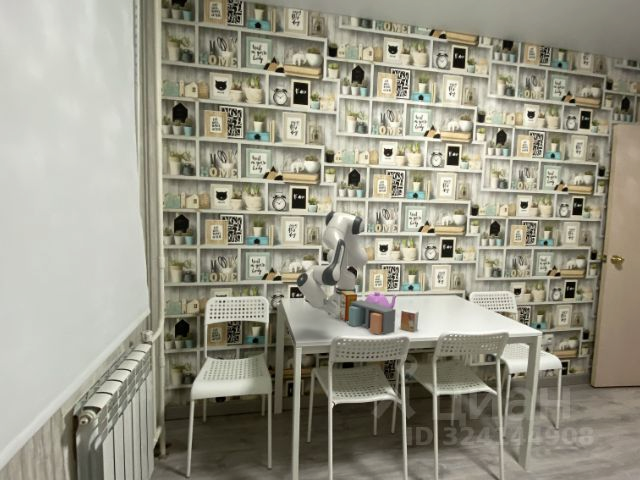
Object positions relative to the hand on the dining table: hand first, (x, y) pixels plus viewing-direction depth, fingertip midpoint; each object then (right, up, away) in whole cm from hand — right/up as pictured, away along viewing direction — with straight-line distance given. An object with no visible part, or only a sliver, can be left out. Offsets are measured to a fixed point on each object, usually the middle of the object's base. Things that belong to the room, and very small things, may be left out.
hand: (331, 314), depth 214 cm
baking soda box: (+10, -8, +25) cm, 29 cm away
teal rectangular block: (+15, -8, +15) cm, 23 cm away
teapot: (+31, -7, +37) cm, 49 cm away
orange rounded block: (+26, -10, +3) cm, 28 cm away
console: (+23, -9, +11) cm, 27 cm away
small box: (+43, -10, +9) cm, 45 cm away
